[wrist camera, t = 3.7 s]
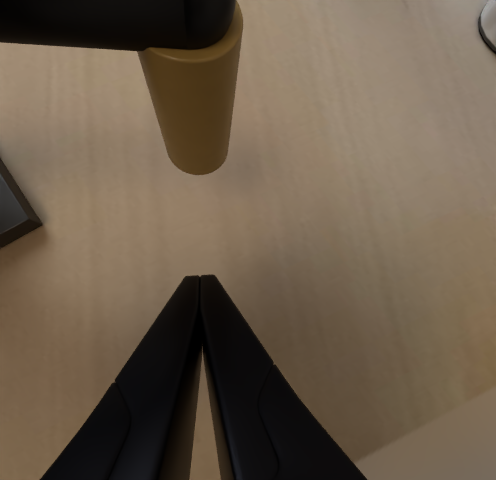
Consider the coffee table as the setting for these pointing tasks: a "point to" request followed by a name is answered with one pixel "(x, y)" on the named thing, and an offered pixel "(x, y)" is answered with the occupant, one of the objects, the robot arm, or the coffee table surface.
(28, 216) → the tap column
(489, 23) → the cup
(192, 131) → the spout
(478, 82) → the coffee table surface
